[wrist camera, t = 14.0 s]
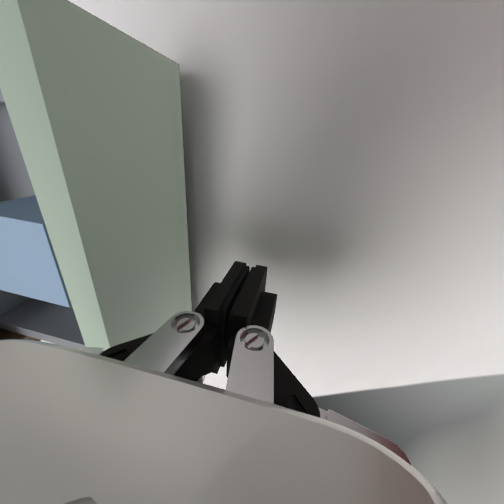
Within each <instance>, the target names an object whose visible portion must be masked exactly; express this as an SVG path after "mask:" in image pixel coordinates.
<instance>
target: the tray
mask: <svg viewBox="0 0 504 504" xmlns="http://www.w3.org/2000/svg"><path fill="white" fill-rule="evenodd" d="M34 195H36V198H37V201H38V204H39V207H40V210H41V213H42V216H43V219H44V222H45V225H46V228H47V231H48V234H49V237H50V240H51V243H52V246H53V250H54V253H55V256H56V259H57V262H58V265H59V268H60V271H61V274H62V277H63V280H64V283H65V286H66V289H67V292H68V295H69V298H70V301H71V304H72V306H71V307H70V308H69V307H65V306H61V305H57V304H54V303H50V302H46V301H42V300H38V299H34V298H30V297H26V296H22V295H18V294H14V293H10V292H6V291H2V290H0V328H1V329H4V330H8V331H11V332H15V333H18V334H22V335H25V336H29V337H33V338H36V339H40V340H43V341H47V342H50V343H54V344H57V345H62V346H75V347H99V348H104V351H105V350H107V349H108V348H110V347H113V346H115V345H118V344H121V343H124V342H128V341H131V340H134V339H137V338H140V337H143V336H146V335H149V334H152V333H154V332H156V331H157V330H158V329H159V328H160V327H161V326H162V325H163V324H164V323H165V322H166V321H167V320H169V319H170V318H171V317H172V316H173V315H175V314H177V313H179V312H183V311H192V303H191V284H190V265H189V246H188V227H187V208H186V189H185V170H184V150H183V131H182V112H181V93H180V74H179V64H178V63H176V62H174V61H173V60H171V59H169V58H167V57H166V56H164V55H162V54H160V53H159V52H157V51H155V50H153V49H152V48H150V47H148V46H146V45H145V44H143V43H141V42H139V41H138V40H136V39H134V38H132V37H131V36H129V35H127V34H125V33H124V32H122V31H120V30H118V29H117V28H115V27H113V26H111V25H110V24H108V23H106V22H104V21H103V20H101V19H99V18H97V17H96V16H94V15H92V14H90V13H89V12H87V11H85V10H83V9H82V8H80V7H78V6H76V5H75V4H73V3H71V2H69V1H68V0H0V202H3V201H8V200H14V199H19V198H24V197H29V196H34Z"/></svg>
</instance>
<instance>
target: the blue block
mask: <svg viewBox="0 0 504 504" xmlns="http://www.w3.org/2000/svg"><path fill="white" fill-rule="evenodd" d="M0 290H2V291H6V292H10V293H14V294H18V295H22V296H26V297H30V298H34V299H38V300H42V301H46V302H50V303H54V304H57V305H61V306H65V307H69V308H70V307H71V306H72V304H71V301H70V298H69V295H68V292H67V289H66V286H65V283H64V280H63V277H62V274H61V271H60V268H59V265H58V262H57V259H56V256H55V253H54V250H53V246H52V243H51V240H50V237H49V234H48V231H47V228H46V225H45V222H44V219H43V216H42V213H41V210H40V207H39V204H38V201H37V198H36V195H34V196H29V197H24V198H19V199H14V200H8V201H3V202H0Z"/></svg>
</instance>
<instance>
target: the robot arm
mask: <svg viewBox="0 0 504 504" xmlns="http://www.w3.org/2000/svg"><path fill="white" fill-rule="evenodd" d="M249 269H250V268H249V266H246V263H243V262H237V261H235V262H234V264H233V265H232V267H231V268H230V270H229V271H228V273H227V274H226V276H225V277H224V279H223V280H222V282H221V283H217V282H215V283H214V284H213V285H212V287H211V288H210V290H209V291H208V292H207V294H206V295H205V297H204V298H203V299H202V301H201V302H200V304H199V305H198V306H197V308H196V309H195V311H183V312H179V313H177V314H175V315H173V316H172V317H171V318H170V319H169V320H167V321H166V322H165V323H164V324H163V325H162V326H161V327H160V328H159V329H158V330H157V331H156V332H154V333H152V334H149V335H146V336H143V337H140V338H137V339H134V340H131V341H128V342H124V343H121V344H118V345H115V346H113V347H110V348H108V349H107V350H105V351H104V348H99V347H75V346H62V345H57V344H52V343H47V342H42V341H34V340H21V339H8V340H0V504H447V503H446V501H445V500H444V498H443V497H442V496H441V494H440V493H439V492H438V491H437V490H436V488H435V487H434V486H433V485H432V484H431V483H430V482H429V481H428V480H427V479H426V478H425V477H424V476H423V475H422V474H420V473H419V472H418V471H417V470H416V469H415V468H413V467H412V466H411V463H410V462H409V460H408V458H407V457H406V455H405V453H404V452H403V451H402V450H401V449H400V448H399V447H398V446H397V445H396V444H395V443H393V442H392V441H390V440H389V439H387V438H385V437H383V436H381V435H379V434H377V433H375V432H373V431H371V430H369V429H367V428H365V427H363V426H361V425H359V424H357V423H355V422H353V421H351V420H349V419H347V418H345V417H343V416H341V415H340V414H338V413H336V412H334V411H331V410H330V409H329V410H328V412H326V411H324V410H322V409H320V408H319V407H318V406H317V404H316V402H315V401H314V399H313V398H312V397H311V395H310V394H309V393H308V392H307V391H306V389H305V388H304V387H303V386H302V384H301V383H300V382H299V381H298V380H297V378H296V377H295V376H294V375H293V374H292V372H291V371H290V370H289V369H288V368H287V366H286V365H285V364H284V363H283V361H282V360H281V359H280V358H279V357H278V355H277V354H276V353H275V352H274V340H273V336H272V334H271V333H270V332H271V328H272V323H273V319H274V313H275V307H276V300H277V294H273V293H268V292H265V285H266V276H267V267H265V266H259V265H256V267H252V268H251V270H250V272H249ZM226 361H227V375H226V376H227V378H228V380H227V385H226V390H223V389H220V388H216V387H213V386H209V385H206V384H203V382H204V379H205V375H206V374H208V373H211V372H212V373H216V374H217V373H218V370H219V368H220V366H222V367H224V366H225V364H226Z"/></svg>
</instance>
